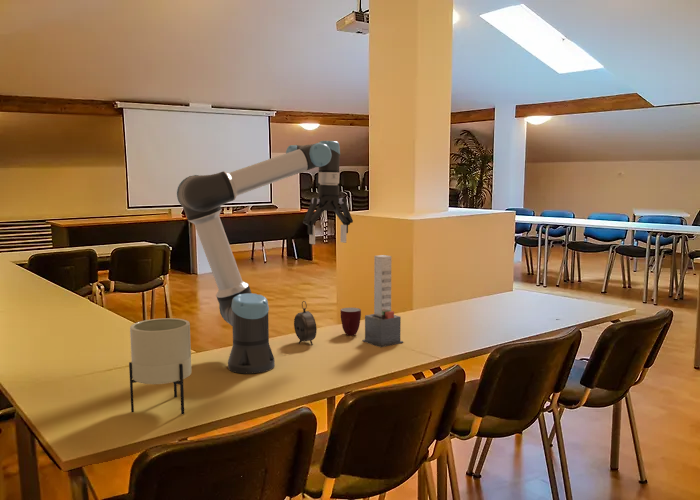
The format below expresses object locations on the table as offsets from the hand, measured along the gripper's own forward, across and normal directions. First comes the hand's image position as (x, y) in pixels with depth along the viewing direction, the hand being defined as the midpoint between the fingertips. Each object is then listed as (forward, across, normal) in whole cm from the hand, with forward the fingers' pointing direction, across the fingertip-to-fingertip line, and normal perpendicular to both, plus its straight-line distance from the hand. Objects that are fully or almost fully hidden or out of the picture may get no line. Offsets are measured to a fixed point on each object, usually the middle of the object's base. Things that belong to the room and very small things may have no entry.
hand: (328, 243), depth 222 cm
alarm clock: (+38, -5, +7) cm, 40 cm away
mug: (+38, +16, +7) cm, 42 cm away
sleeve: (+38, +20, -8) cm, 43 cm away
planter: (+40, -70, -25) cm, 84 cm away
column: (+30, +20, -8) cm, 36 cm away
